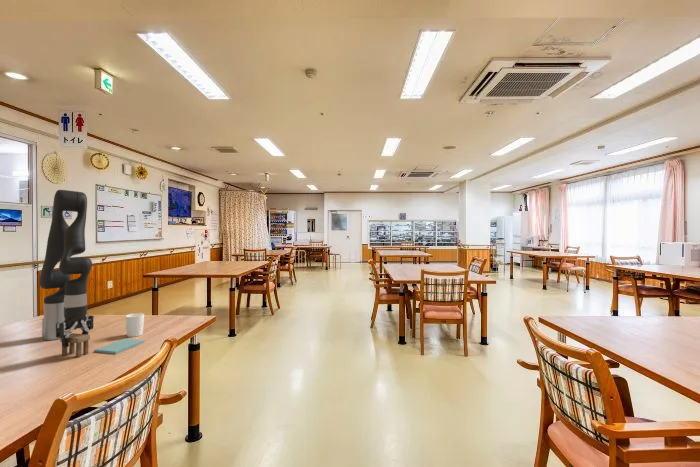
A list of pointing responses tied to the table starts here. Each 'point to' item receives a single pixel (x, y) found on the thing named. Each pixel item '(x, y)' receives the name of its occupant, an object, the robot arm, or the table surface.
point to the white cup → (134, 324)
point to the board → (119, 346)
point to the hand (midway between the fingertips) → (75, 343)
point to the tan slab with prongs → (76, 339)
